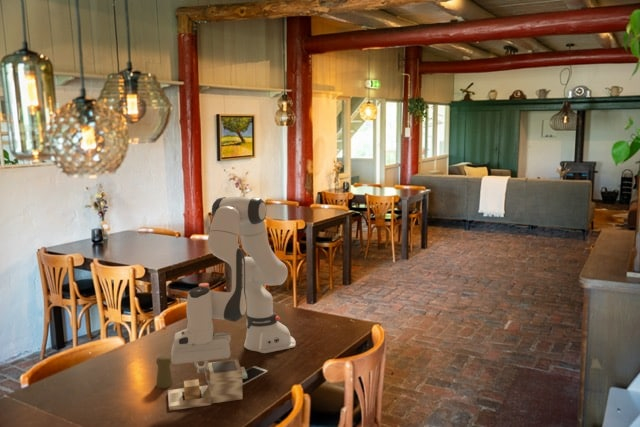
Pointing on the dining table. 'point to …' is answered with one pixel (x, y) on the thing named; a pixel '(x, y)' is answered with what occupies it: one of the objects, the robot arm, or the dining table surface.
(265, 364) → the dining table surface
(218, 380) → the beige stepped box
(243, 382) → the smartphone
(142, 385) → the dining table surface
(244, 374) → the cover
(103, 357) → the dining table surface
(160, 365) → the olive pepper mill
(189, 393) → the block
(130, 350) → the dining table surface
